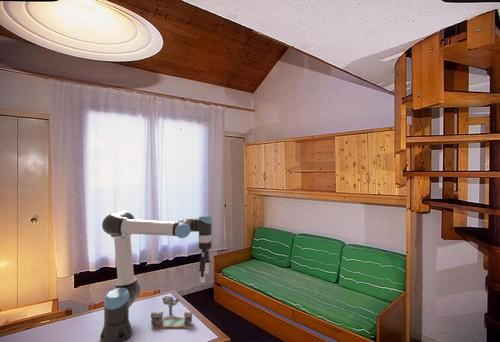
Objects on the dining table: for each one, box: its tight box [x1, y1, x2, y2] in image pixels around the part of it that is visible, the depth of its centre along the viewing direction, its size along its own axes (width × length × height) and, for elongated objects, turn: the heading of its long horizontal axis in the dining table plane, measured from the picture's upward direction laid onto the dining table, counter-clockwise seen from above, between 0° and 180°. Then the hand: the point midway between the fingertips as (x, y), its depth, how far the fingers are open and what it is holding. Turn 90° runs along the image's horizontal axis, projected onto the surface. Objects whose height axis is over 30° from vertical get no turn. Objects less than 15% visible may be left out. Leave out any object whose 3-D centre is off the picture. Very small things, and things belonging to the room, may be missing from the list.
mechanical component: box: [161, 296, 180, 316], centre depth 165 cm, size 3×10×10 cm, turn 78°
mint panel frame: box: [150, 311, 193, 329], centre depth 154 cm, size 23×9×7 cm, turn 91°
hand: (204, 277), depth 157 cm, fingers open, 13 cm apart
